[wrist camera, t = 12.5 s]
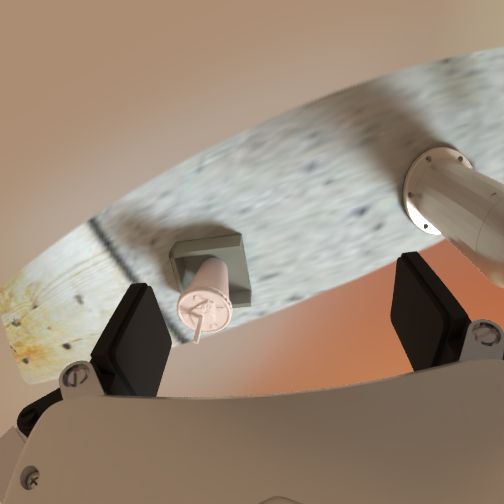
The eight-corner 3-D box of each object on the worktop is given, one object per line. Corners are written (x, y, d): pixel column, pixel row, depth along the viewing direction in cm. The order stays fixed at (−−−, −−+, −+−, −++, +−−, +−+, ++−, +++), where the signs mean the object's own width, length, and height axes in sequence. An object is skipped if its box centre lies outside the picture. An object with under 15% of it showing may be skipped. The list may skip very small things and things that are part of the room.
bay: (241, 233, 41) (239, 245, 38) (251, 291, 45) (250, 306, 42) (175, 242, 42) (168, 254, 39) (190, 297, 46) (186, 311, 43)
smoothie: (184, 276, 44) (159, 345, 31) (202, 240, 41) (178, 305, 29) (225, 294, 45) (213, 367, 33) (245, 261, 42) (239, 331, 30)
